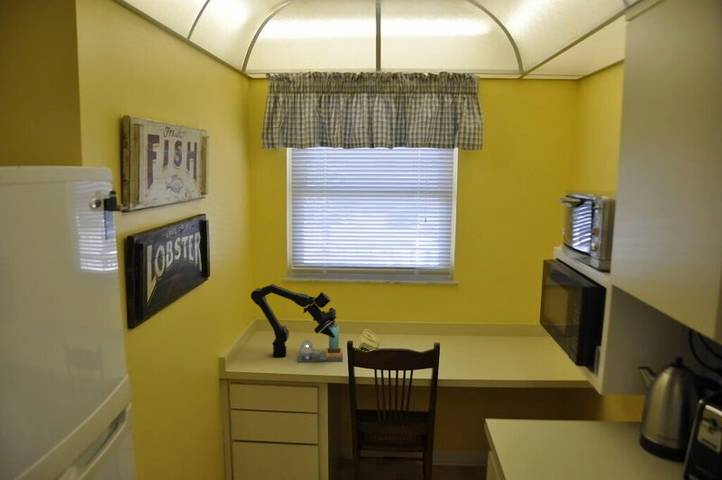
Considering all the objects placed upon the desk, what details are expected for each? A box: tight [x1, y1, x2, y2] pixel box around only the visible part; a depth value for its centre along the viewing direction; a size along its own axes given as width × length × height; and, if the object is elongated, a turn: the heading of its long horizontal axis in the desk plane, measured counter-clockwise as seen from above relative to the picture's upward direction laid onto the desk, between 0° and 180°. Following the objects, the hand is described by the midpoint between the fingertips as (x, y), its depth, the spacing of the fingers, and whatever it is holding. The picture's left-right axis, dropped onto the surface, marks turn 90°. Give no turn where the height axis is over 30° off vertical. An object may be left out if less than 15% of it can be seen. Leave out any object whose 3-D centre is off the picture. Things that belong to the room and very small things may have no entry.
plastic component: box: [355, 328, 379, 351], centre depth 292 cm, size 20×7×10 cm
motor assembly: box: [297, 339, 344, 363], centre depth 272 cm, size 23×11×8 cm, turn 92°
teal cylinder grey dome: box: [328, 323, 340, 349], centre depth 272 cm, size 5×5×12 cm
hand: (336, 335), depth 272 cm, fingers closed on teal cylinder grey dome, 5 cm apart
